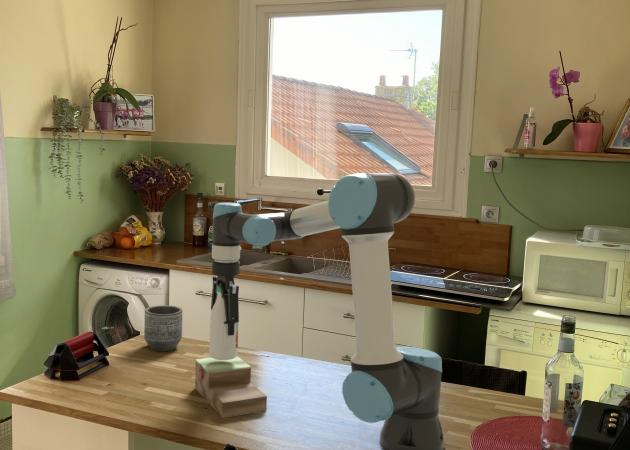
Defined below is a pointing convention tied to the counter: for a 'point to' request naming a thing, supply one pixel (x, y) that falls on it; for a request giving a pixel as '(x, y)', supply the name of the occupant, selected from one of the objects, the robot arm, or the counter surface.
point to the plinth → (228, 387)
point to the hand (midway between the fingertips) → (223, 341)
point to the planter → (163, 327)
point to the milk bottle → (220, 332)
